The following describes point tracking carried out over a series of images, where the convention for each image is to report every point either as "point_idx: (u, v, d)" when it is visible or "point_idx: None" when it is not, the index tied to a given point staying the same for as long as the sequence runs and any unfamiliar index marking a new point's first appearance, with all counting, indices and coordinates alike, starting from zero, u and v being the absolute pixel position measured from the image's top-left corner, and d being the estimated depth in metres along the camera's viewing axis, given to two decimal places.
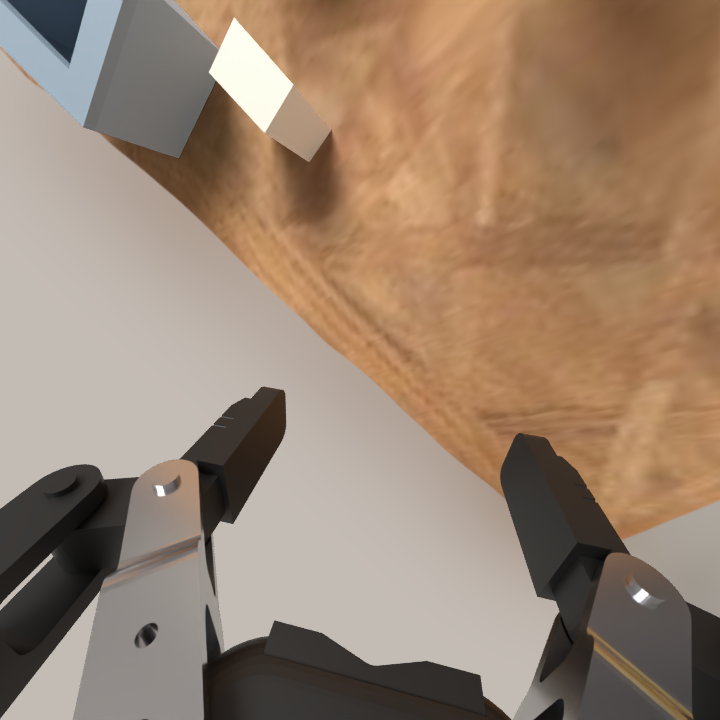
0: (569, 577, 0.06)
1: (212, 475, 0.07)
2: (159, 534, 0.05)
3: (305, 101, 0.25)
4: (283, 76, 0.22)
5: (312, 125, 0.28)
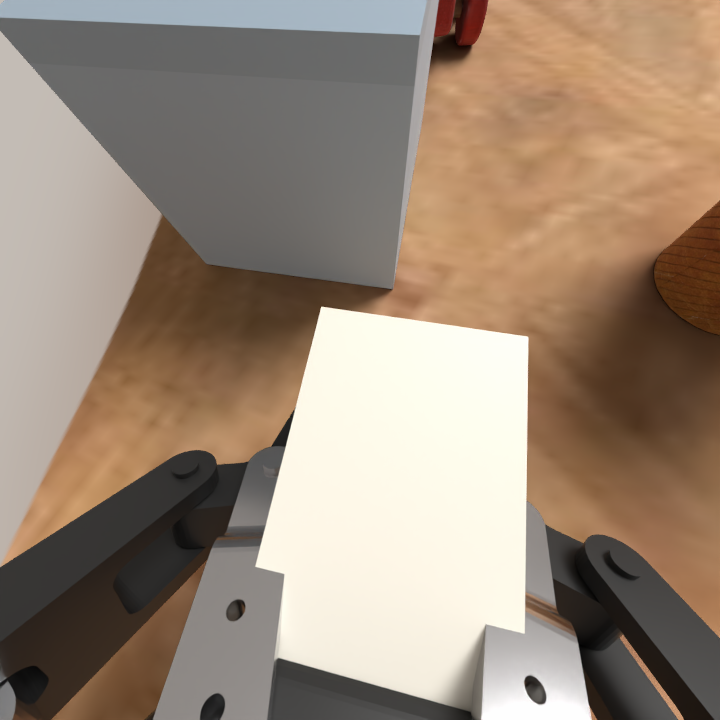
0: None
1: None
2: (261, 514, 0.06)
3: None
4: None
5: None
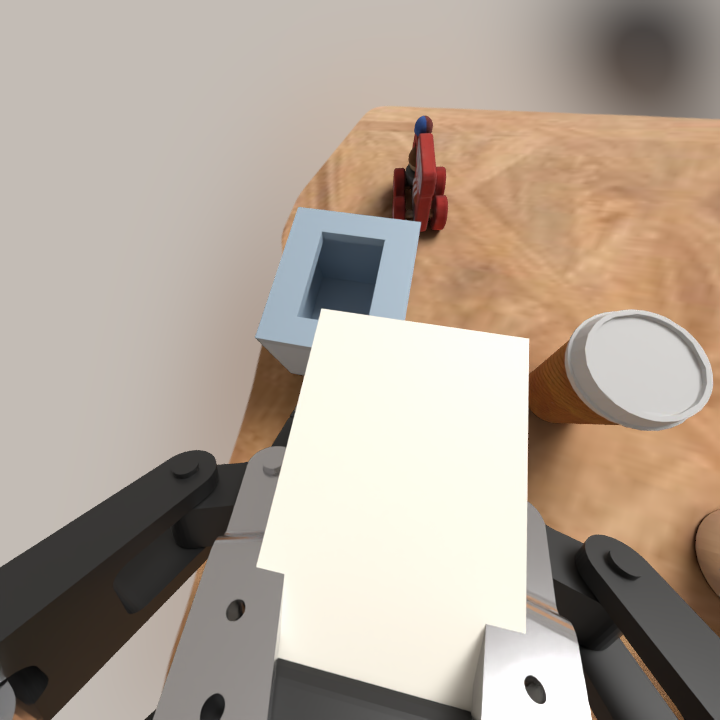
0: None
1: None
2: (261, 514, 0.06)
3: None
4: None
5: None
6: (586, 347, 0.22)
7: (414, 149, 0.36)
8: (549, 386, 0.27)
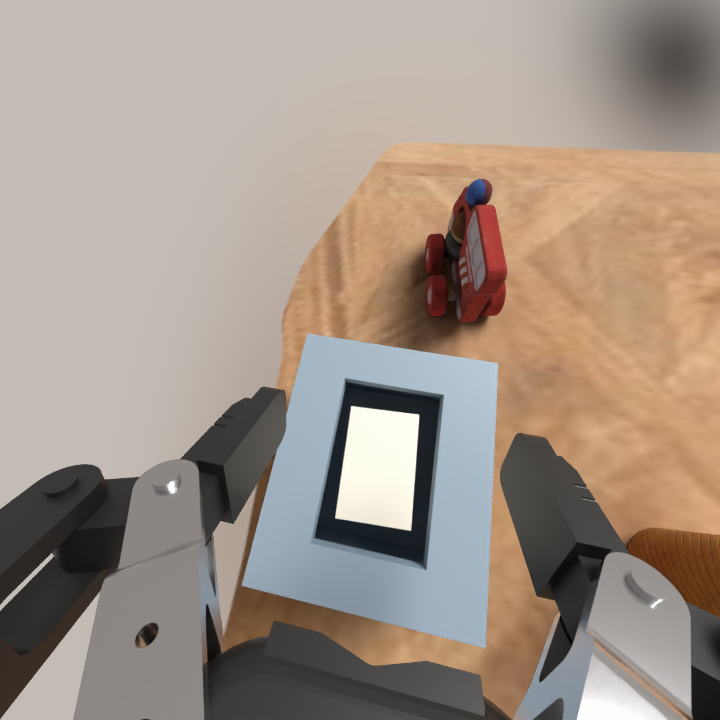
0: (568, 576, 0.06)
1: (213, 475, 0.07)
2: (160, 534, 0.05)
3: None
4: (409, 510, 0.15)
5: None
6: None
7: (461, 217, 0.26)
8: None
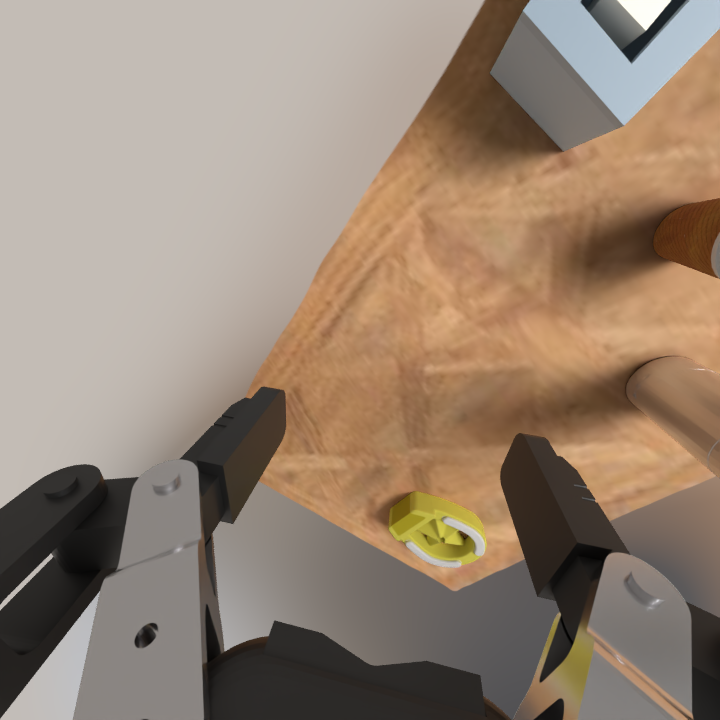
0: (569, 577, 0.06)
1: (212, 475, 0.07)
2: (160, 535, 0.05)
3: (621, 47, 0.24)
4: (657, 13, 0.21)
5: None
6: None
7: None
8: (700, 221, 0.29)
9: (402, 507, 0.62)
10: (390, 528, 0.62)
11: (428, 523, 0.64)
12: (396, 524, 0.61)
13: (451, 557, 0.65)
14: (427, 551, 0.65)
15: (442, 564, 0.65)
